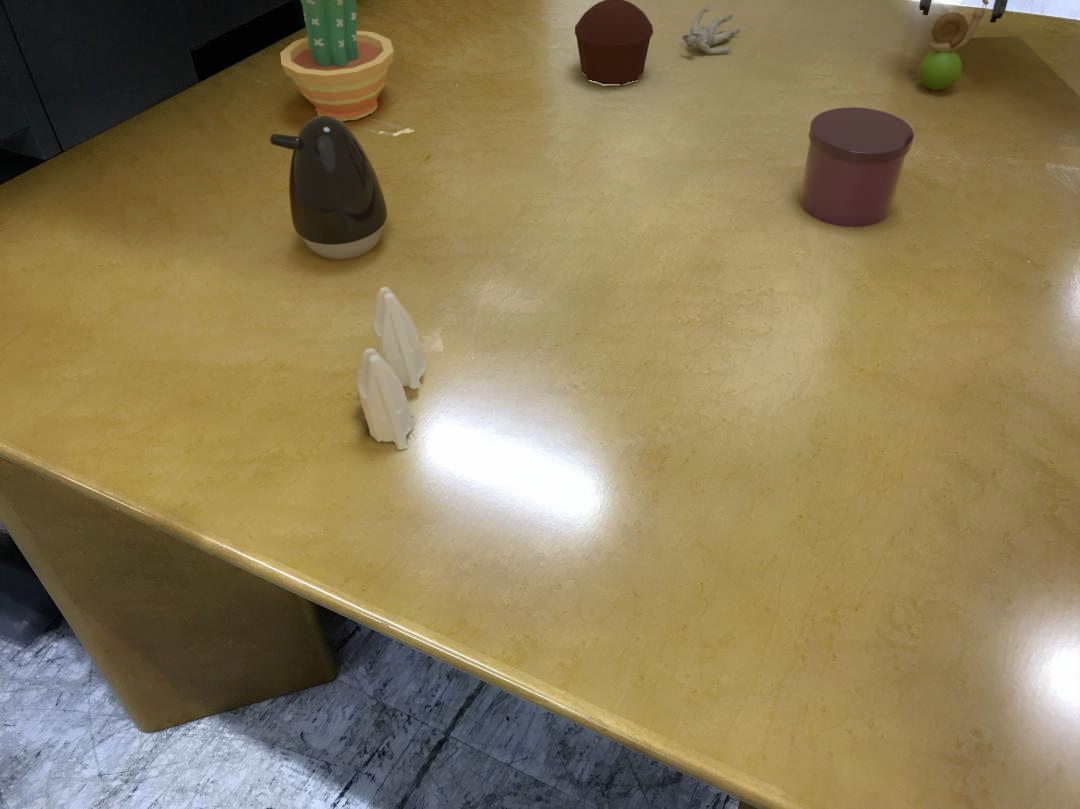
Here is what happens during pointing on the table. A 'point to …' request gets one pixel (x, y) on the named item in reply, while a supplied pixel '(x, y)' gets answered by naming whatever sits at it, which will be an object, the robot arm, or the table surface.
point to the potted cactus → (337, 60)
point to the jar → (853, 165)
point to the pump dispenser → (333, 190)
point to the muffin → (613, 42)
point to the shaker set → (390, 371)
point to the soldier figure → (709, 34)
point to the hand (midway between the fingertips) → (959, 16)
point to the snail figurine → (947, 49)
